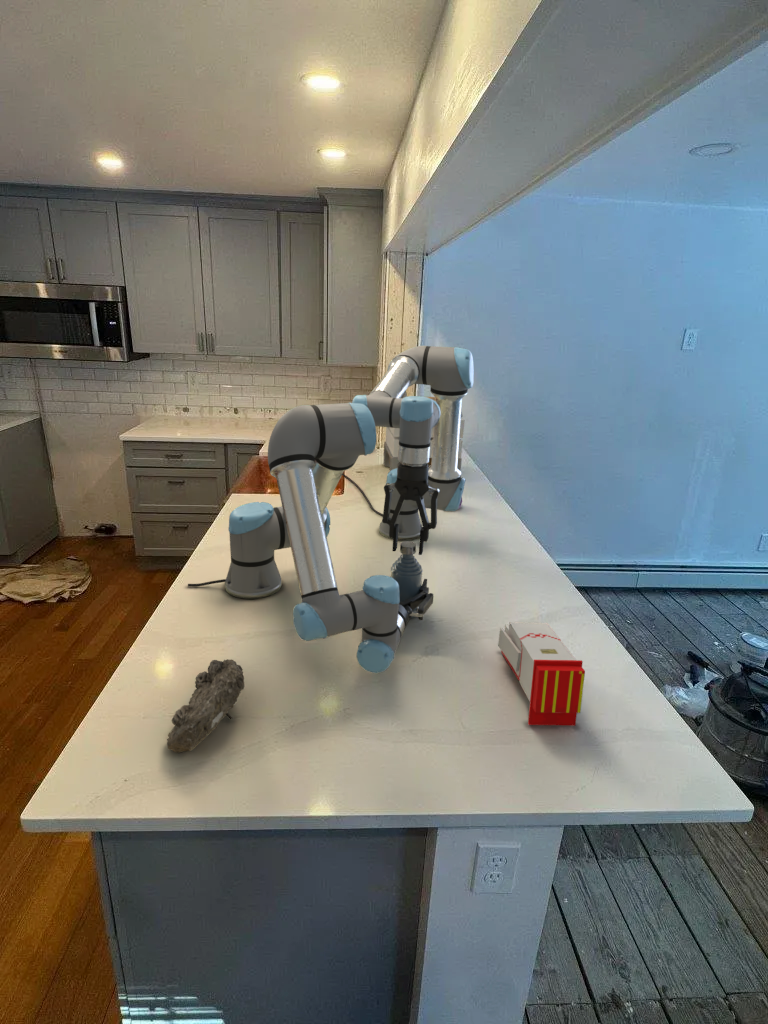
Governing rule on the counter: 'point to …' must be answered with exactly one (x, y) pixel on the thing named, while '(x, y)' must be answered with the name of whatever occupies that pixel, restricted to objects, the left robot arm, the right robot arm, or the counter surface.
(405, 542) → the cap
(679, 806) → the counter surface
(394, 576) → the bottle
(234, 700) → the fossil
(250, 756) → the counter surface
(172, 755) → the counter surface
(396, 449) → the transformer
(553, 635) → the toy
